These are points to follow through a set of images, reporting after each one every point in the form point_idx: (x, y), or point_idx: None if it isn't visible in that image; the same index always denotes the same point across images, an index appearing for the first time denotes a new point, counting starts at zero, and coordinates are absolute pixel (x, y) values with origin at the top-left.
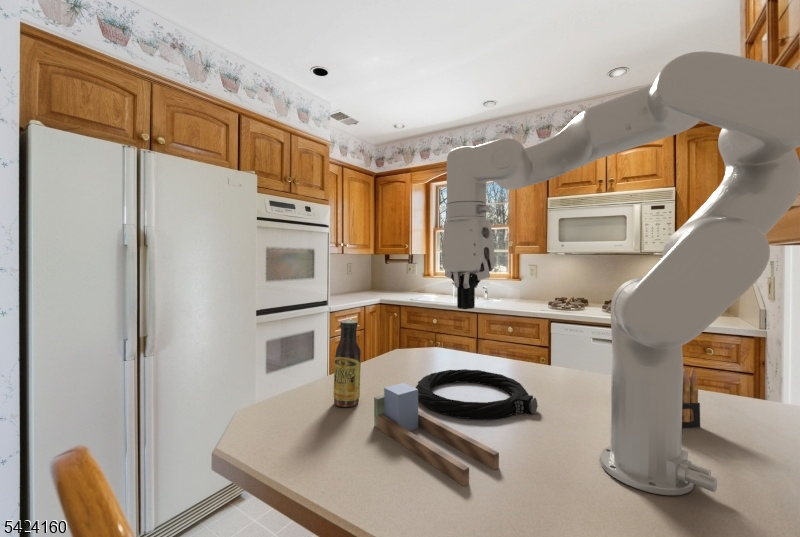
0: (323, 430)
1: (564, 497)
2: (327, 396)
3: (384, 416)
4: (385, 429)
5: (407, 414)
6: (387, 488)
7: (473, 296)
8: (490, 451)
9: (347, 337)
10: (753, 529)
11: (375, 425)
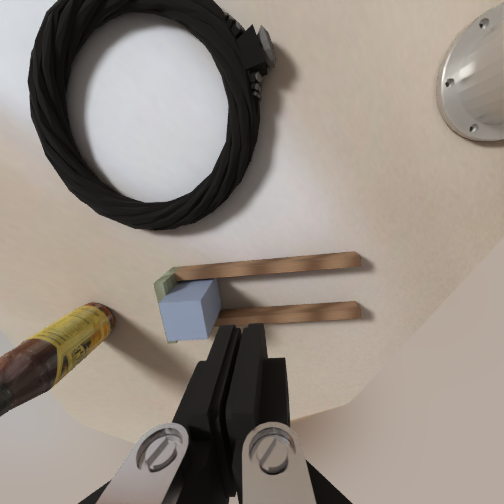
0: (167, 371)
1: (442, 232)
2: None
3: None
4: None
5: (213, 304)
6: (311, 367)
7: (286, 394)
8: (352, 264)
9: (3, 411)
10: None
11: None
